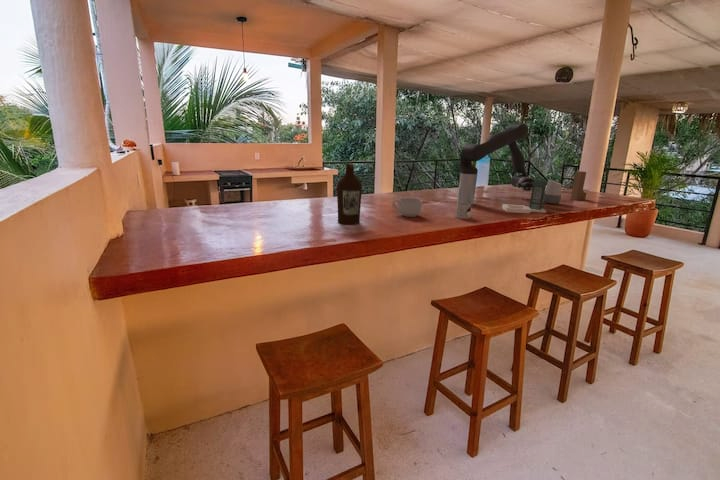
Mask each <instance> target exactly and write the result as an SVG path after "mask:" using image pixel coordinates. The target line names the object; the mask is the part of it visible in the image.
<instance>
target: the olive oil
mask: <svg viewBox="0 0 720 480" xmlns="http://www.w3.org/2000/svg"><path fill="white" fill-rule="evenodd" d="M354 166H355V165H354V163H346V164H345V173H344V174H343V175H342V176H341V178H340V179H338V182H337V184H336V196H337V198H336V199H337V222H338V224H339V225H340V224H341V225H346V226H348V225H349V226H352V225H358V224H360V219H361V204H362V203H361V202H362V191H363V185H362V182H361V180H360V179H359V177H357V175H356V174H355V168H354Z"/></svg>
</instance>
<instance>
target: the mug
mask: <svg viewBox="0 0 720 480" xmlns="http://www.w3.org/2000/svg"><path fill="white" fill-rule="evenodd" d="M471 210H472V205H471V204H469V203H457V202H456V209H455V219H461V220H470V219H471Z"/></svg>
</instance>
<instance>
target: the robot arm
mask: <svg viewBox="0 0 720 480" xmlns="http://www.w3.org/2000/svg"><path fill="white" fill-rule="evenodd" d="M528 133H529V126H528V125H527V124H526V123H522V122H521V123H509V124H508V126H507V127H506V129H505V130H503V131H498V132H495V133H493V134H491V135H489V136H488V137H487V138H486V140H485V141H484V142H483V143H479V144H478V143H477V144H475V143H466V144H463V146H462V147H461V149H460V158H459V169H460V176H459V184H458V190H457V199H456V204H457V203H469V204H471V206H473V205H474V204H475V199H476V197H475V196H476V188H477V180H478V172H479V170H478V168H477V167H475V166H474V165H473V162H479V161H480V160H483V159H484V158H485V157H487V156H488V155H490V154H492V153H494V152H496V151H499V150H501V149H503V148H504V147H506V146H508V147H509V152H510V154H511V155H510V156H511V162H512V171H513V172H514V173H518V174H517V175H513V176H511V178H510V184H511V186H512V187H513V188H517V189H521V190H523V191H526V192H530V191H532V188H533V182H534V180H535V179H532V178H530V177H529V176H528V173H527V170H526V163H525V157H524V155H523V153H522V151H521V149H520V148H519V146H518V144H517V141H521V140H522V139H524V138H526V137H527V135H528ZM519 173H521V174H519Z"/></svg>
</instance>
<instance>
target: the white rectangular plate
mask: <svg viewBox="0 0 720 480" xmlns="http://www.w3.org/2000/svg"><path fill="white" fill-rule="evenodd" d="M525 206H526V207H528V208H529V206H530V205H529V206H527V205H525ZM529 209H530V208H529ZM530 213H543V214H545V213H547V210H546V209H545V208H543V207H542V209H540V210H536V209H531V212H530Z"/></svg>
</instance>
